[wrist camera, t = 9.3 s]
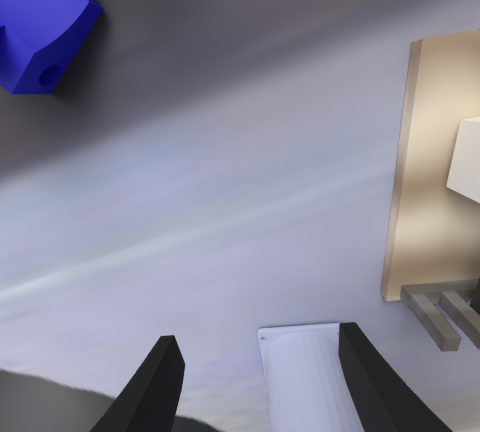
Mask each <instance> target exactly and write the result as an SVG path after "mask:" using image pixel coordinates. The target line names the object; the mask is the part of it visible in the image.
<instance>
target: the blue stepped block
mask: <svg viewBox="0 0 480 432" xmlns="http://www.w3.org/2000/svg"><path fill="white" fill-rule="evenodd" d="M102 10H103V9H102V7H101V6H100V5H99V4H98V3H97V2H96V1H95V0H0V85H1V86H2V87H3V88H4V89H6V90H7V91H8V92H9V93H10V94H50V93H51V91H52V90H53V88H54V86H55V85H56V83H57V82H58V80H59V79H60V77H61V75H62V74H63V72H64V71H65V69H66V67H67V66H68V64H69V63H70V61H71V59H72V58H73V56H74V55H75V53H76V52H77V50H78V48H79V47H80V45H81V44H82V42H83V40H84V39H85V37H86V36H87V34H88V33H89V31H90V29H91V28H92V26H93V25H94V23H95V21H96V20H97V18H98V17H99V15H100V14H101V12H102Z"/></svg>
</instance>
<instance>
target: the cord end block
mask: <svg viewBox="0 0 480 432" xmlns="http://www.w3.org/2000/svg"><path fill="white" fill-rule="evenodd" d="M446 187H448V188H450V189H452V190H454V191H456V192H458V193H460V194H462V195H464V196H466V197H468V198H470V199H472V200H474V201H476V202H478V203H480V117H477V118H470V119H463V120H461V121H460V125H459V130H458V134H457V139H456V144H455V148H454V153H453V157H452V162H451V166H450V171H449V175H448V180H447V185H446Z"/></svg>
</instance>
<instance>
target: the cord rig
mask: <svg viewBox="0 0 480 432" xmlns="http://www.w3.org/2000/svg"><path fill="white" fill-rule="evenodd" d="M477 117H480V29H478V30H472V31H467V32H461V33H455V34H450V35H444V36H438V37H432V38H427V39H422V40H418V41H415V42H412V43H411V51H410V59H409V67H408V75H407V83H406V91H405V99H404V108H403V116H402V124H401V132H400V140H399V148H398V156H397V164H396V172H395V180H394V188H393V196H392V204H391V212H390V221H389V229H388V237H387V245H386V253H385V261H384V269H383V277H382V285H381V294H382V296H383V297H384V299H385V300H386V301H398V300H402V301H403V302H404V303H405V305H406V306H409V307H410V309H411V310H412V311H413V313H414V314H415V315H416V317H417V318H418V320H419V321H420V322H421V324H422V325H423V326H424V328H425V329H426V330H427V332H428V333H429V335H430V336H431V337H432V339H433V340H434V341H435V343H436V344H437V345H438V347H439V348H440V350H441V351H442V352H443V351H457V350H458V347H459V344H460V341H461V337H460V335H459V334H458V333H457V332H456V331H455V330H454V328H453V327H452V326H451V325H450V324H449V323H448V321H447V320H446V319H445V318H444V317H443V315H442V314H441V313H440V312H439V311H438V310H437V308H436V307H435V306H434V305H433V304H439V305H440V306H441V307H442V309H443V310H444V311H445V312H446V313H447V314H448V315H449V317H450V318H451V319H452V320H453V321H454V322H455V323H456V324H457V326H458V327H459V328H460V329H461V330H462V331H463V332H464V334H465V335H466V336H467V337H468V338H469V339H470V340H471V341H472V343H473V344H474V345H475V346H476V347H477V348H478V349H480V203H478V202H476V201H474V200H472V199H470V198H468V197H466V196H464V195H462V194H460V193H458V192H456V191H454V190H452V189H450V188H448V187H446V185H447V180H448V175H449V171H450V166H451V162H452V157H453V153H454V148H455V144H456V139H457V134H458V130H459V125H460V121H461V120H463V119H470V118H477ZM468 301H471V304H470V306H469V305H468V304H467V303H466V302H468Z"/></svg>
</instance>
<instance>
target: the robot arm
mask: <svg viewBox="0 0 480 432" xmlns="http://www.w3.org/2000/svg"><path fill="white" fill-rule="evenodd" d="M257 336H258V341H259V347H260V353H261V359H262V364H263V370H264V376H265V382H266V388H267V394H268V412H269V430H270V432H453V431H452V430H451V429H450V428H448V427H447V426H446V425H445V424H444V423H443V422H442V421H441V420H440V419H439V418H438V417H437V416H436V415H435V414H434V413H433V412H432V411H431V410H430V409H429V408H428V407H427V406H426V405H425V404H424V403H423V402H422V401H421V400H420V398H419V397H418V396H417V395H416V394H415V393H414V392H413V391H412V390H411V389H410V388H409V387H408V386H407V385H406V383H405V382H404V381H403V380H402V379H401V378H400V377H399V376H398V374H397V373H396V372H395V371H394V370H393V369H392V368H391V366H390V365H389V364H388V363H387V362H386V361H385V359H384V358H383V357H382V356H381V355H380V353H379V352H378V351H377V350H376V348H375V347H374V346H373V345H372V343H371V342H370V341H369V340H368V338H367V337H366V336H365V334H364V333H363V332H362V330H361V329H360V328H359V326H358V325H357V324H356V323H355V322H350V323H329V324H315V325H301V326H287V327H273V328H261V329H259V330H258V331H257ZM184 370H185V362H184V360H183V357H182V354H181V352H180V349H179V347H178V344H177V341H176V339H175V336H174V335H170V336H161V337H160V338H159V339H158V341H157V342H156V344H155V345H154V347H153V348H152V350H151V351H150V353H149V354H148V356H147V357H146V358H145V360H144V361H143V363H142V364H141V366H140V367H139V368H138V370H137V371H136V373H135V374H134V375H133V377H132V378H131V380H130V381H129V382H128V384H127V385H126V387H125V388H124V389H123V391H122V392H121V393H120V394H119V396H118V397H117V398H116V400H115V401H114V402H113V404H112V405H111V406H110V407H109V409H108V410H107V411H106V412H105V414H104V415H103V416H102V417H101V419H100V420H99V421H98V422H97V423H96V425H95V426H94V427H93V428H92V429H91V430H90V432H171V429H172V426H173V422H174V418H175V414H176V410H177V406H178V402H179V398H180V394H181V390H182V384H183V377H184Z"/></svg>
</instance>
